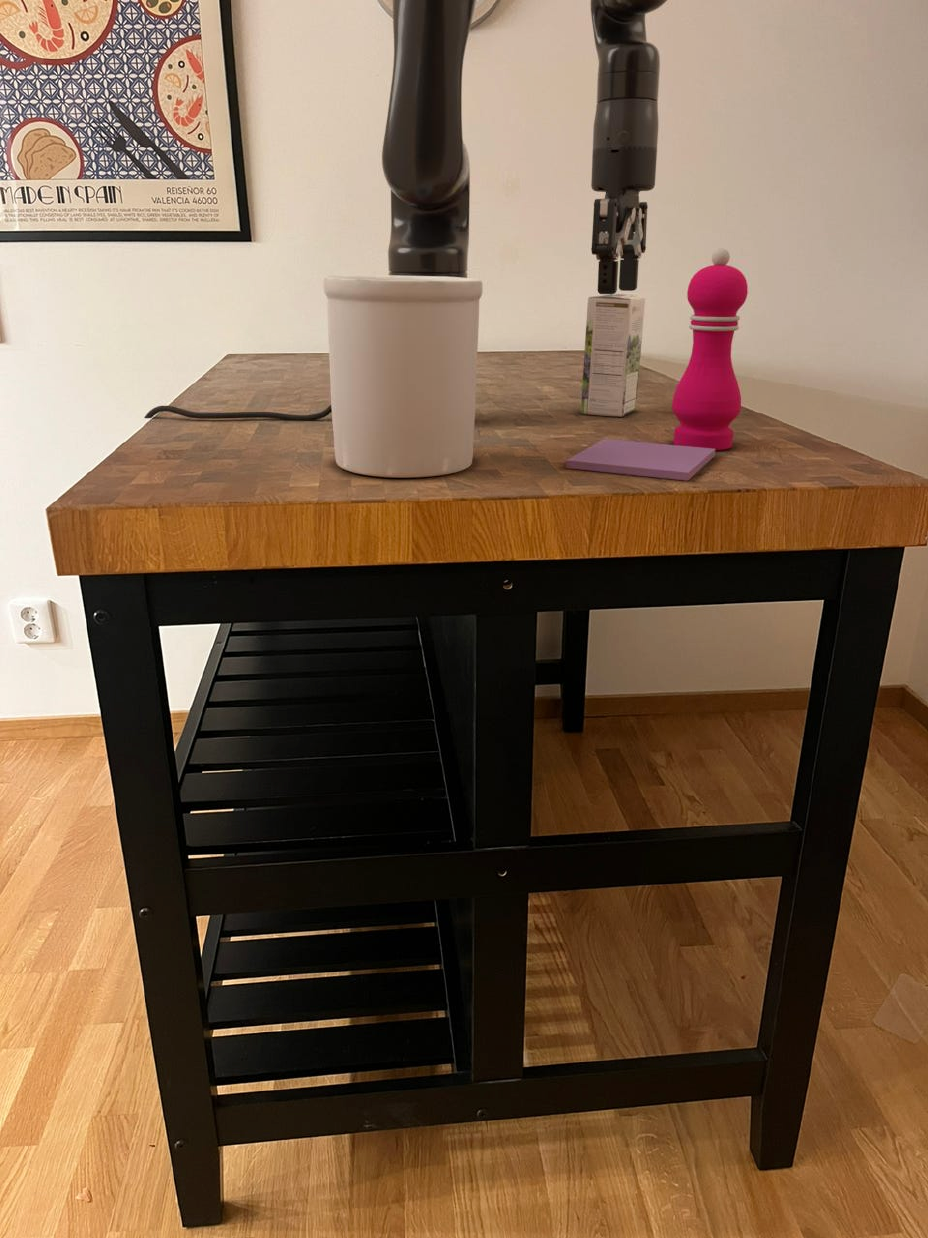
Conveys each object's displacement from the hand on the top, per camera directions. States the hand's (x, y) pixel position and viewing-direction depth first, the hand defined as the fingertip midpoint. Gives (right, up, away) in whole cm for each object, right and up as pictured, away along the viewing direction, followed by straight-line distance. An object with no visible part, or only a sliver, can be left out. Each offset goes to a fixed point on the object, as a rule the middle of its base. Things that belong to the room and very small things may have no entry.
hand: (617, 292), depth 115 cm
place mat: (-1, -25, -22) cm, 33 cm away
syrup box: (0, -14, +6) cm, 15 cm away
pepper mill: (+7, -22, -14) cm, 27 cm away
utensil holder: (-25, -25, -22) cm, 42 cm away
